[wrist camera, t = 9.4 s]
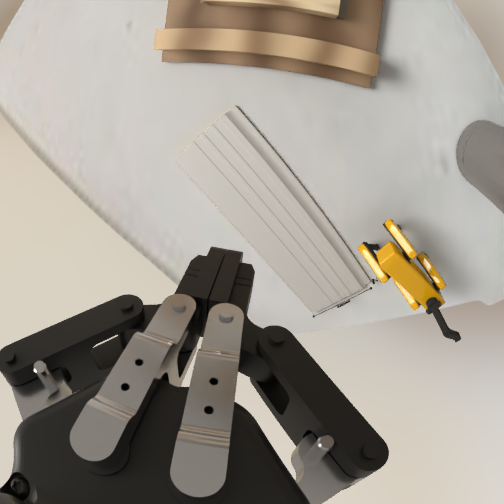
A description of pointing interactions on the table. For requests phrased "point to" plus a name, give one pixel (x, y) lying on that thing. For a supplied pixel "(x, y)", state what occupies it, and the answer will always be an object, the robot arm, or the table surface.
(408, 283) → the robot dog
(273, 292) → the table surface
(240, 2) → the oak plank
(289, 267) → the baseboard molding
